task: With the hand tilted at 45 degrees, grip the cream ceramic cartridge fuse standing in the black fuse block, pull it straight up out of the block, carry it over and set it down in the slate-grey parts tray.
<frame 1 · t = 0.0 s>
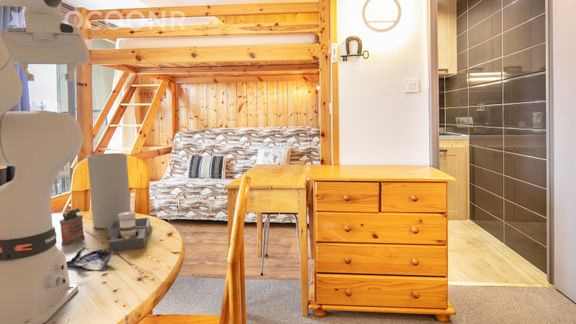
hand: (49, 80, 106), 48 cm above the table, tool pointing down, fingers open, 8 cm apart
lighter: (73, 242, 120), on the table
fuse: (129, 244, 115), resting in fuse block
fuse block: (129, 244, 115), on the table
tray: (130, 232, 128), on the table
snack package: (90, 266, 100), on the table
cylinder vase: (112, 225, 139), on the table
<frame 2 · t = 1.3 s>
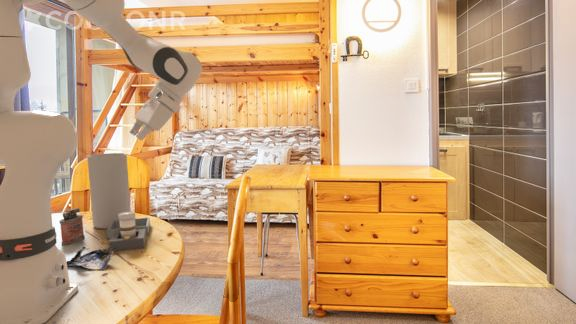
hand: (135, 136, 115), 32 cm above the table, tool tilted 40°, fingers open, 8 cm apart
nothing on the table moved.
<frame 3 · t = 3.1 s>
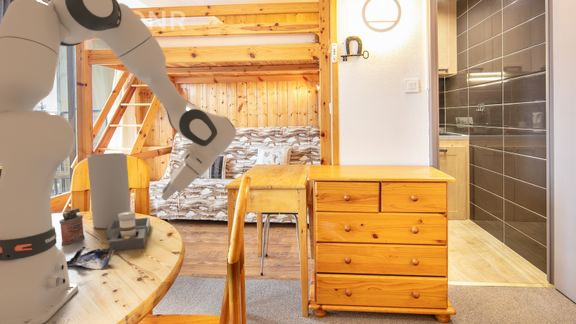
hand: (163, 195, 117), 14 cm above the table, tool tilted 45°, fingers open, 8 cm apart
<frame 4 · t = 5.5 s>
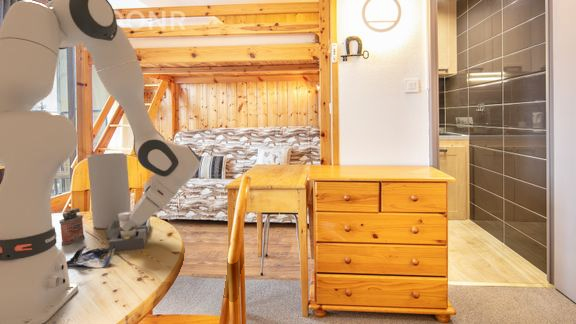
hand: (125, 227, 114), 5 cm above the table, tool tilted 45°, fingers closed on fuse, 4 cm apart
fuse: (129, 244, 115), resting in fuse block, touching gripper
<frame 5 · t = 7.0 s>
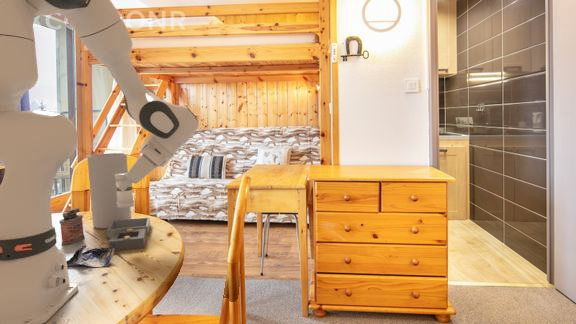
hand: (122, 188, 113), 17 cm above the table, tool tilted 45°, fingers closed on fuse, 4 cm apart
fuse: (125, 206, 114), point 12 cm above the table, touching gripper
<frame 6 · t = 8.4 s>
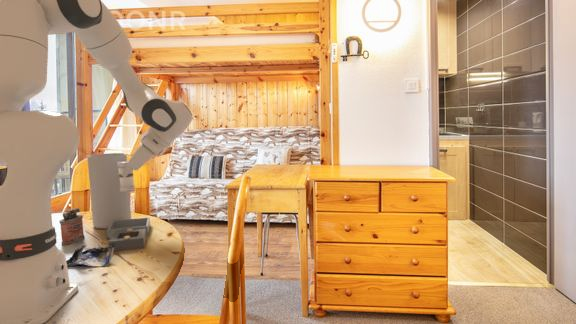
hand: (123, 174, 126), 19 cm above the table, tool tilted 45°, fingers closed on fuse, 4 cm apart
fuse: (127, 190, 127), point 14 cm above the table, touching gripper
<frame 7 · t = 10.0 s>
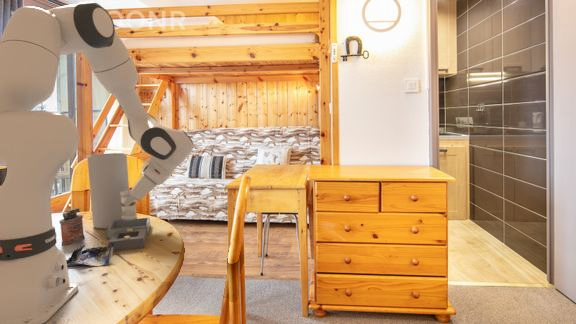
hand: (126, 203, 127), 10 cm above the table, tool tilted 45°, fingers closed on fuse, 4 cm apart
fuse: (129, 219, 128), point 4 cm above the table, touching gripper
when the fingers open (7 cm above the table, at t = 11.0 s): fuse stays where it is, resting on tray.
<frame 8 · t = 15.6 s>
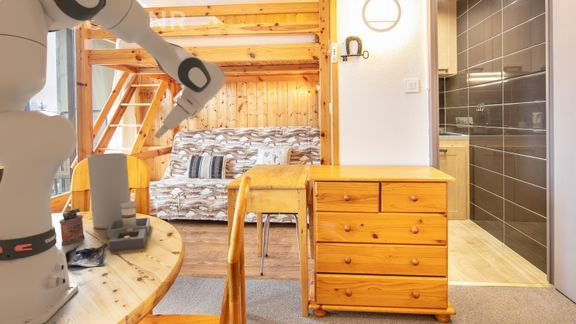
hand: (156, 136, 124), 31 cm above the table, tool tilted 45°, fingers open, 8 cm apart
fuse: (130, 230, 128), resting on tray
snack package: (81, 265, 101), on the table
everything else where it was.
at the end: fuse inside the target area on the tray (0.0 cm from its centre), point 0.5 cm above the tray's base; the gripper is holding nothing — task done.
